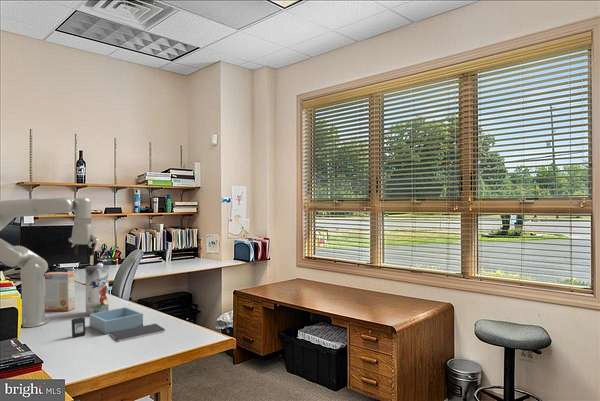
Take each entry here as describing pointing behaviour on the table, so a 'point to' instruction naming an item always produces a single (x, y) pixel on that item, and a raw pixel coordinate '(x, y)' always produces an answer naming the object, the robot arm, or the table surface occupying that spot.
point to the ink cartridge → (78, 327)
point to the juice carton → (96, 288)
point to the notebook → (137, 332)
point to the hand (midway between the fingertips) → (83, 255)
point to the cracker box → (59, 291)
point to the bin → (116, 320)
